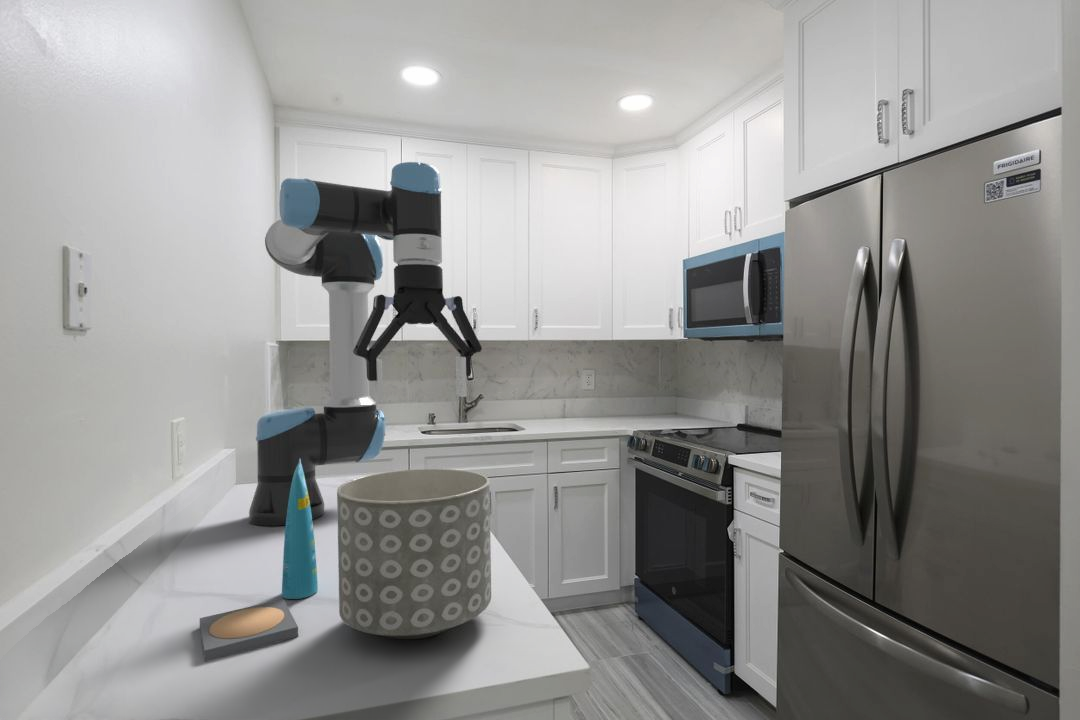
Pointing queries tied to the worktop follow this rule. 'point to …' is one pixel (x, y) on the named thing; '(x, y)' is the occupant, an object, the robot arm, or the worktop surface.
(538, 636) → the worktop surface
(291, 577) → the tube
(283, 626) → the coaster
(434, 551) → the planter
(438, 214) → the robot arm
